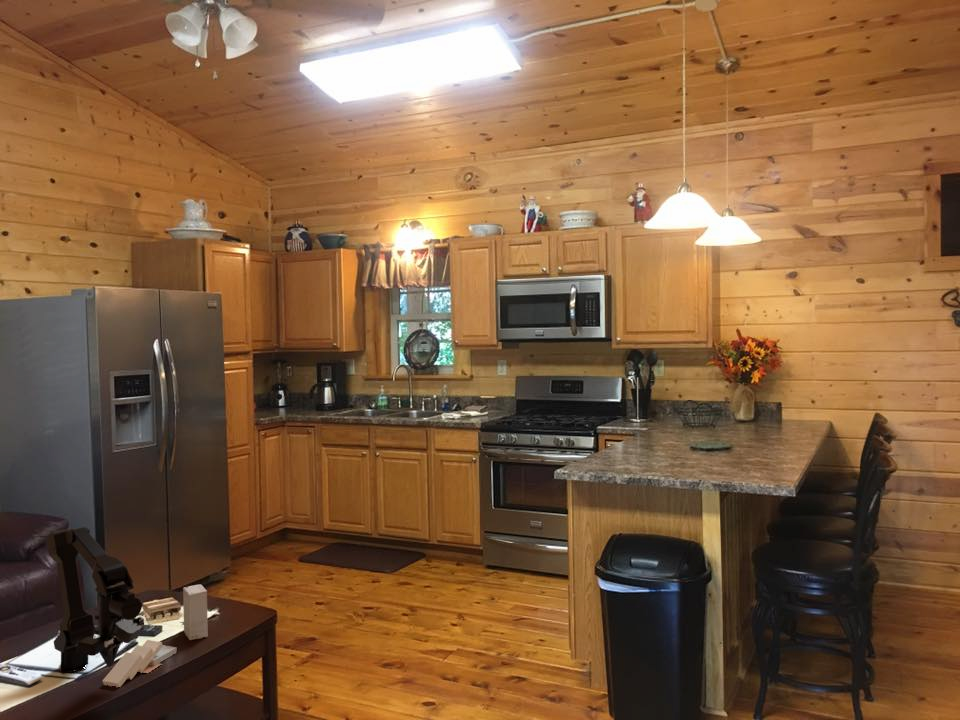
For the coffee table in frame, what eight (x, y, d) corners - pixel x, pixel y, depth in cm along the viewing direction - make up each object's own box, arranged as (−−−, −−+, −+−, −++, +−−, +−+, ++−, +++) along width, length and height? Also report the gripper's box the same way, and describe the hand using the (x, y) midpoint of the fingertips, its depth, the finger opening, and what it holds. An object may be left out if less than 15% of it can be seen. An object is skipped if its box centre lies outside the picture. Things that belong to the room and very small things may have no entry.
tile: (121, 669, 217) (121, 668, 217) (136, 660, 222) (136, 659, 222) (147, 674, 214) (147, 673, 214) (162, 665, 220) (162, 663, 220)
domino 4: (154, 660, 218) (176, 647, 228) (139, 657, 220) (162, 645, 229) (154, 665, 219) (176, 652, 228) (139, 663, 220) (162, 650, 229)
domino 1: (117, 683, 206) (141, 654, 214) (102, 680, 207) (126, 652, 215) (119, 687, 206) (142, 658, 215) (104, 684, 208) (127, 656, 216)
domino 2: (129, 675, 210) (151, 647, 218) (114, 673, 211) (137, 645, 220) (131, 679, 210) (153, 651, 219) (115, 677, 212) (138, 649, 220)
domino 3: (140, 668, 214) (161, 642, 223) (125, 666, 215) (147, 639, 224) (141, 672, 214) (163, 646, 223) (126, 670, 216) (148, 643, 224)
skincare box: (208, 637, 240) (208, 591, 239) (188, 641, 236) (188, 594, 235) (201, 627, 247) (202, 582, 246) (182, 631, 243) (182, 586, 242)
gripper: (109, 627, 194) (109, 687, 195) (159, 601, 212) (158, 656, 213) (74, 621, 197) (73, 679, 198) (125, 596, 215) (125, 650, 216)
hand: (110, 666), depth 206 cm, fingers closed
